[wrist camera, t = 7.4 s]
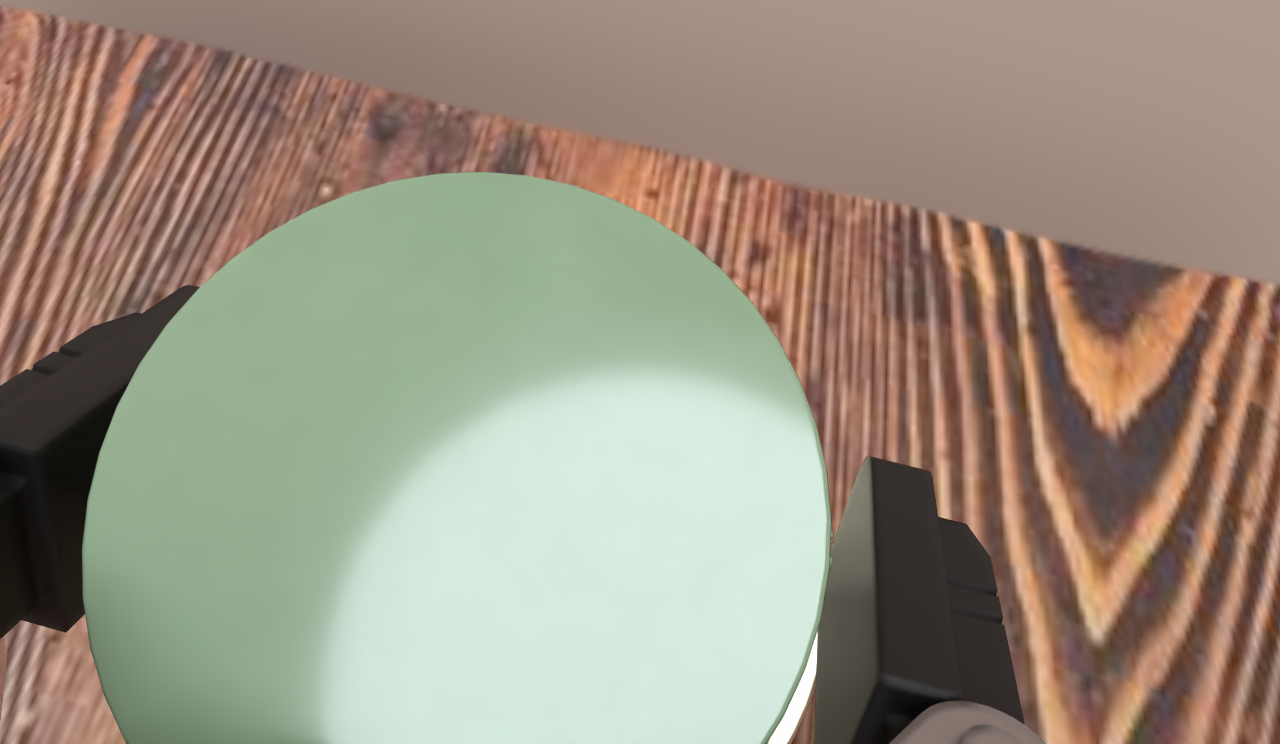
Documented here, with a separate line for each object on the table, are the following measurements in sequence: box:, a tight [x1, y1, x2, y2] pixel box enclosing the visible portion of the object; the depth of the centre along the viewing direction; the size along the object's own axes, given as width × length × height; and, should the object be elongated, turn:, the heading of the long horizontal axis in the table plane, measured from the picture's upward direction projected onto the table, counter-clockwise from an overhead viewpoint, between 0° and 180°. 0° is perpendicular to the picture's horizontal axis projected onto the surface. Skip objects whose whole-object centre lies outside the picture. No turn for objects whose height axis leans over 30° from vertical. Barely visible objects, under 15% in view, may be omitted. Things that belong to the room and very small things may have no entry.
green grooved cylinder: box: [82, 172, 833, 744], centre depth 13 cm, size 6×7×9 cm
